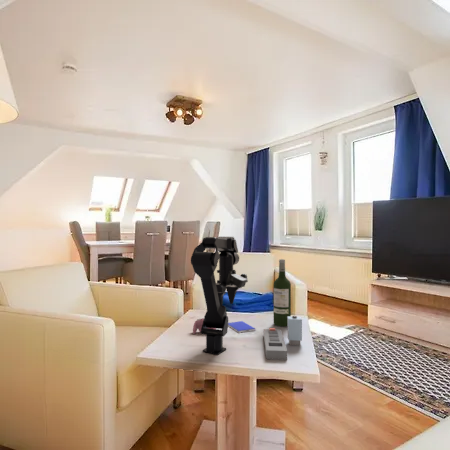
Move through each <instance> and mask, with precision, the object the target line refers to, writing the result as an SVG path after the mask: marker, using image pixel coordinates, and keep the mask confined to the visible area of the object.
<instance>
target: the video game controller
mask: <svg viewBox="0 0 450 450" xmlns="http://www.w3.org/2000/svg"><path fill="white" fill-rule="evenodd" d="M203 320H204V317H203V318H199V319H196V320H195V321H194V324H193V328H192V334H193V335H195V334H196V333H197V330H198V331H199V333H201V328H202V324H203ZM208 329H217V328H208Z"/></svg>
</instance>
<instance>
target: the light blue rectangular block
mask: <svg viewBox="0 0 450 450" xmlns="http://www.w3.org/2000/svg"><path fill="white" fill-rule="evenodd" d="M286 331H287V339H288V344H289V346H301V341H303V319H302V317H301V316H297V315H291V316H287V330H286Z"/></svg>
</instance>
